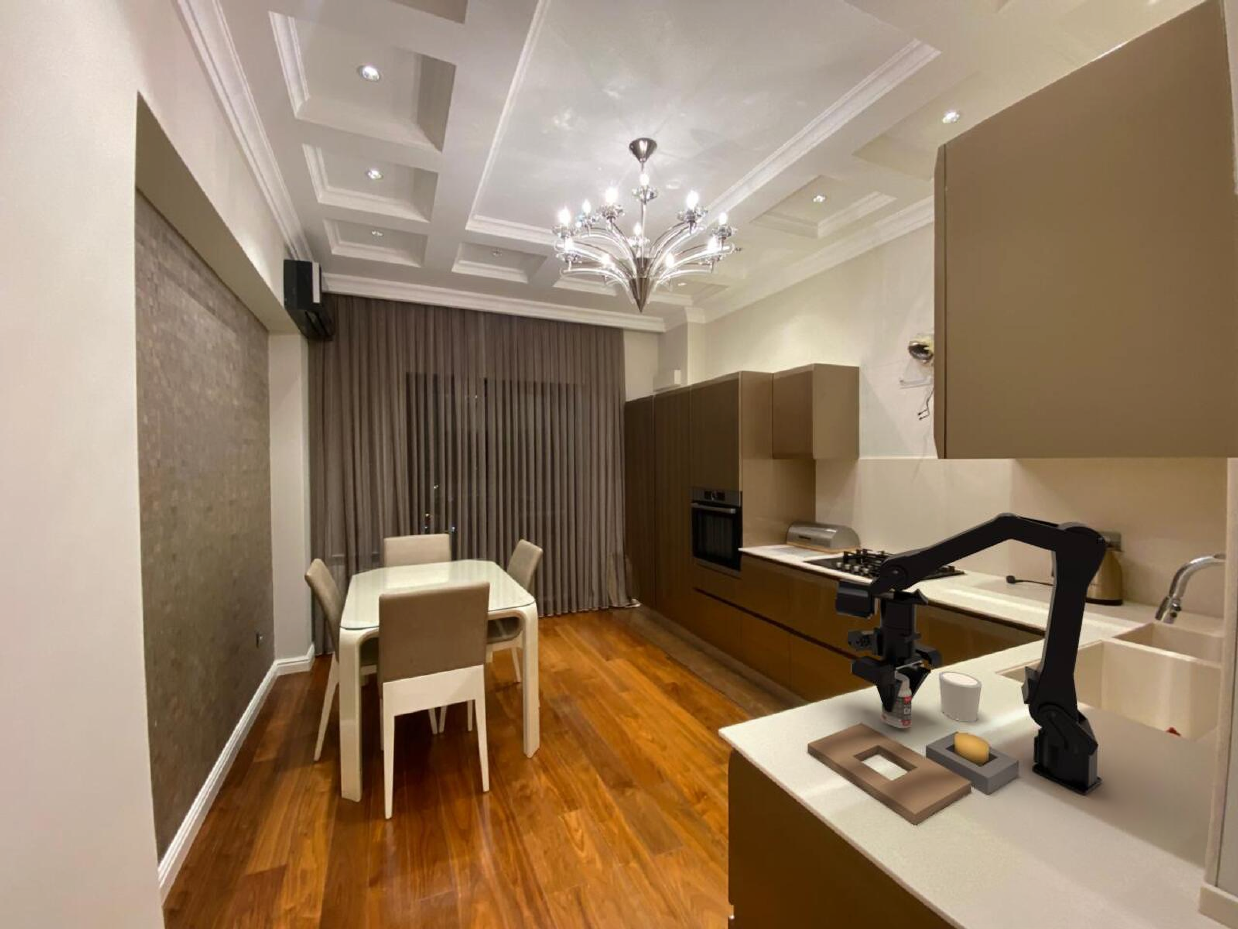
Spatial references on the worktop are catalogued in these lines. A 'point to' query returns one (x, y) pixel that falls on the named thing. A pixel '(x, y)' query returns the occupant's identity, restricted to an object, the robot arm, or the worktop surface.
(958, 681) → the white cup
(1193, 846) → the worktop surface
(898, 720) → the pill bottle
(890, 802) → the brown wooden rectangular frame
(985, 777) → the button collar
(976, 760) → the button
